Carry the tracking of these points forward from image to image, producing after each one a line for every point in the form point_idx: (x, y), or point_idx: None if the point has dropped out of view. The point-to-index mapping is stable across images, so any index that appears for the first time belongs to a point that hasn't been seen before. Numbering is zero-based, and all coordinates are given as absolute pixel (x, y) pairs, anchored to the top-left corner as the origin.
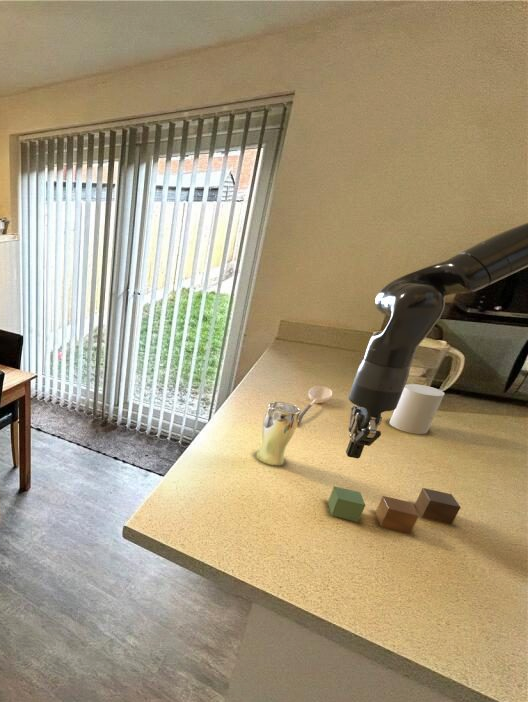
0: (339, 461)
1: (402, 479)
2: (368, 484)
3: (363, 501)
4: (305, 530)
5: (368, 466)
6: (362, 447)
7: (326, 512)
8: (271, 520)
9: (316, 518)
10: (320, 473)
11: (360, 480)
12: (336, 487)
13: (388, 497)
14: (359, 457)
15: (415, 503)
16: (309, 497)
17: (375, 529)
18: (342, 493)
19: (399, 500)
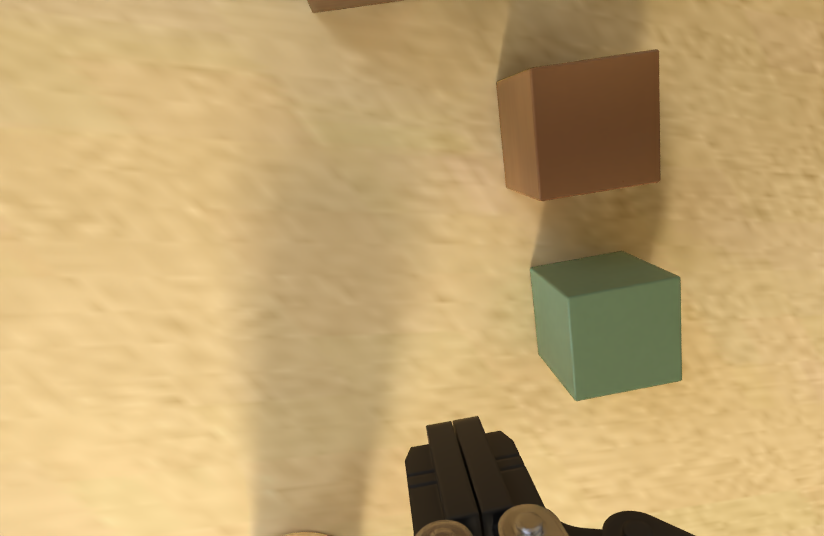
0: (82, 330)
1: (45, 38)
2: (247, 205)
3: (654, 285)
4: (766, 403)
5: (20, 200)
6: (502, 484)
7: None
8: (759, 495)
9: None
10: (291, 395)
11: (230, 239)
12: (583, 391)
13: (544, 175)
14: (478, 418)
15: (317, 10)
16: (537, 413)
17: (637, 192)
18: (627, 366)
19: (546, 125)
